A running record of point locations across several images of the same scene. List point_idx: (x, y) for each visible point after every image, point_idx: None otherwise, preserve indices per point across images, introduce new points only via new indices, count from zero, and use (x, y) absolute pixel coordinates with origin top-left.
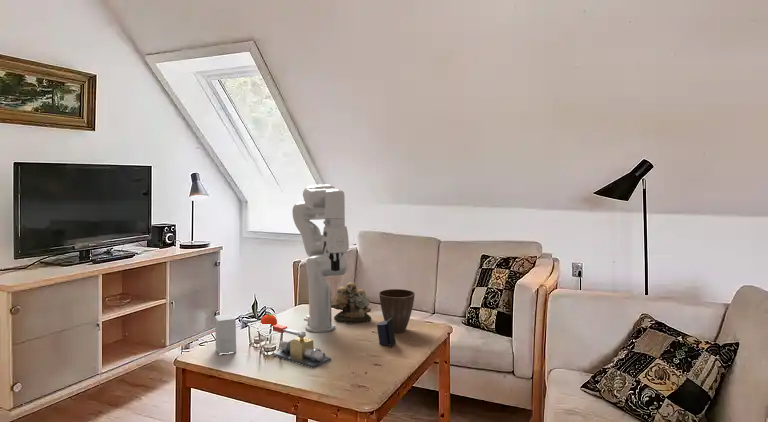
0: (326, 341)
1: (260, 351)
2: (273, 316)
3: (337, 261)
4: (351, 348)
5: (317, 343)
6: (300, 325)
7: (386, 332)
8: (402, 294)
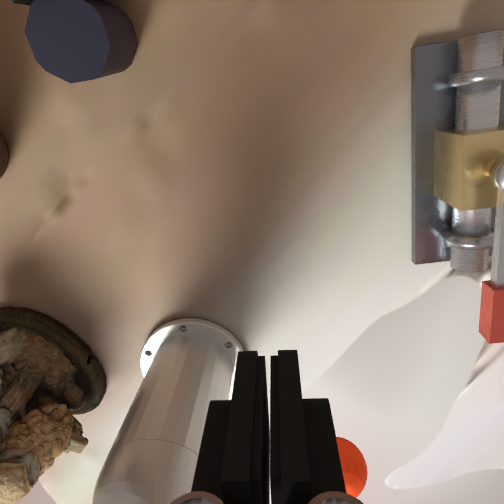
0: (270, 241)
1: None
2: None
3: (284, 465)
4: (254, 107)
5: (308, 246)
6: None
7: (97, 3)
8: None
